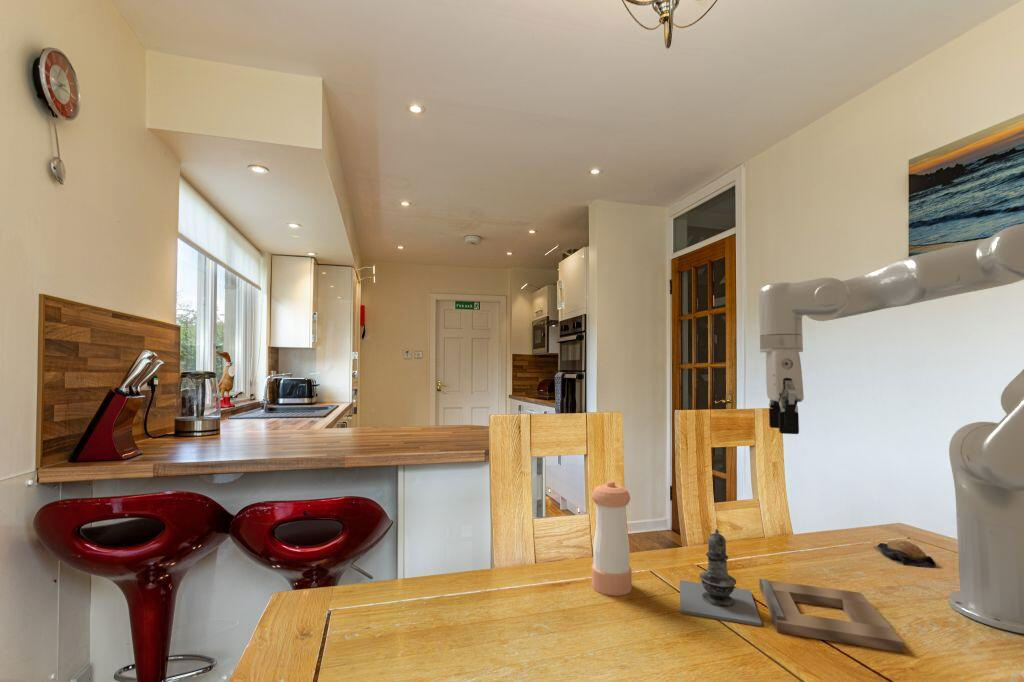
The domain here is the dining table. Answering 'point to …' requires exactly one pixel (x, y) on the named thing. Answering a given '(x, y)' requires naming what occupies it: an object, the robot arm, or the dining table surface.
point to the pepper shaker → (611, 541)
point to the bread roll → (905, 554)
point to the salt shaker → (717, 574)
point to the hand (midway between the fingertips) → (783, 430)
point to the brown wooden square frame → (860, 631)
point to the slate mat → (697, 606)
